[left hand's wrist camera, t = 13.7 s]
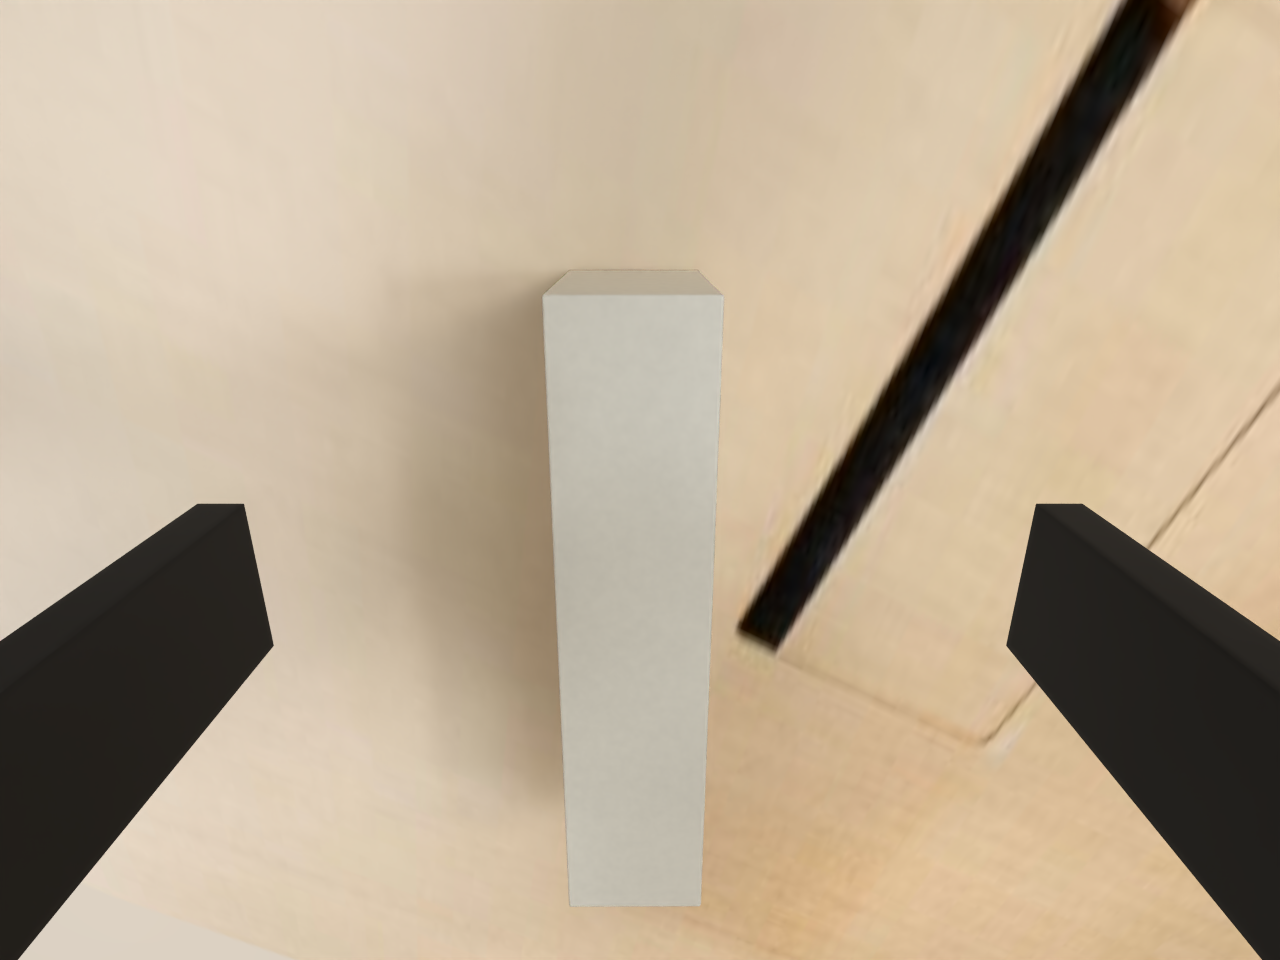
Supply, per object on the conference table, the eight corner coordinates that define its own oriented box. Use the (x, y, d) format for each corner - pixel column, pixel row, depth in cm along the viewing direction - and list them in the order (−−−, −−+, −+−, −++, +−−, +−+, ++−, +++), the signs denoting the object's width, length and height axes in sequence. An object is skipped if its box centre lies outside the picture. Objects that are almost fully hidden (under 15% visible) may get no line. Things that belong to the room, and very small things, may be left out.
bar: (568, 269, 31) (541, 294, 22) (699, 269, 31) (724, 294, 22) (584, 750, 39) (568, 907, 30) (686, 750, 39) (700, 907, 30)
